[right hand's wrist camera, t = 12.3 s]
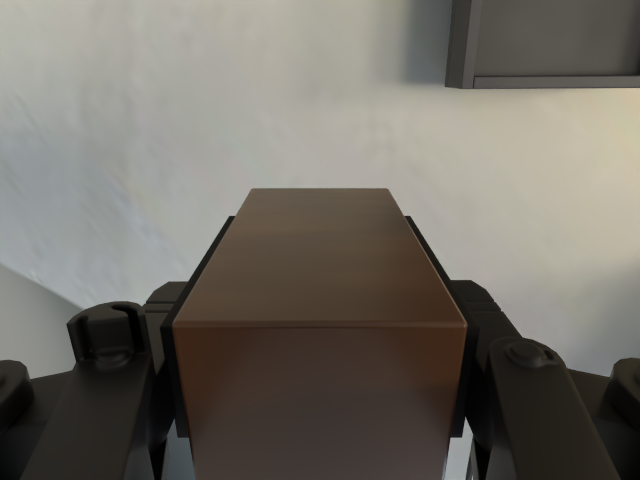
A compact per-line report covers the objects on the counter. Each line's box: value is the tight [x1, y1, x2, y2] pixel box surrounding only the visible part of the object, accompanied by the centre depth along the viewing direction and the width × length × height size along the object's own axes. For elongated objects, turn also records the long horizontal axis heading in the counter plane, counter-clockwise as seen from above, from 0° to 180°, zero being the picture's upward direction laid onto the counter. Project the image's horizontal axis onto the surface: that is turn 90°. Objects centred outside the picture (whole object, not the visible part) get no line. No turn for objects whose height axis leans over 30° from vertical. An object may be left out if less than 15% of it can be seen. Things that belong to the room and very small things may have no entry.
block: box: [172, 188, 467, 480], centre depth 11 cm, size 4×4×8 cm
